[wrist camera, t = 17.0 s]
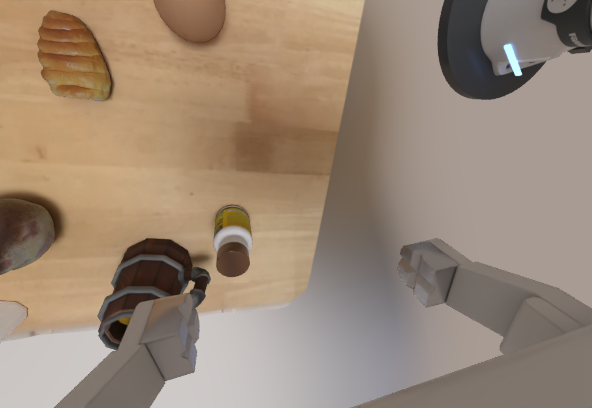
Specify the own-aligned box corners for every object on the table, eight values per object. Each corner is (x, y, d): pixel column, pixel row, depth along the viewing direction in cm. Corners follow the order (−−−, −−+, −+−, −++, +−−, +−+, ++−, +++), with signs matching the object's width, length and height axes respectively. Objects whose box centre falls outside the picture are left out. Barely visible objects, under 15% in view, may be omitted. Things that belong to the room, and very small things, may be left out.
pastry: (33, 9, 28) (7, -1, 25) (101, 20, 30) (86, 12, 26) (59, 97, 32) (40, 98, 29) (118, 101, 34) (106, 103, 30)
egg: (232, -4, 32) (234, -42, 22) (217, 57, 34) (213, 46, 25) (170, -40, 29) (142, -100, 20) (158, 30, 31) (128, 6, 22)
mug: (137, 293, 48) (103, 371, 35) (112, 244, 42) (61, 315, 29) (218, 275, 51) (215, 341, 38) (205, 227, 45) (195, 285, 32)
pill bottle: (217, 202, 44) (214, 235, 34) (251, 206, 46) (257, 238, 36) (213, 231, 46) (210, 270, 36) (246, 233, 48) (250, 271, 38)
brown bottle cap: (245, 238, 36) (247, 248, 34) (250, 262, 38) (251, 273, 36) (214, 244, 35) (213, 255, 33) (220, 269, 37) (219, 280, 35)
